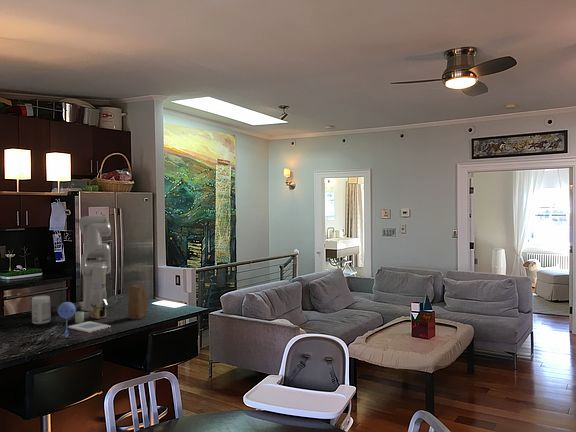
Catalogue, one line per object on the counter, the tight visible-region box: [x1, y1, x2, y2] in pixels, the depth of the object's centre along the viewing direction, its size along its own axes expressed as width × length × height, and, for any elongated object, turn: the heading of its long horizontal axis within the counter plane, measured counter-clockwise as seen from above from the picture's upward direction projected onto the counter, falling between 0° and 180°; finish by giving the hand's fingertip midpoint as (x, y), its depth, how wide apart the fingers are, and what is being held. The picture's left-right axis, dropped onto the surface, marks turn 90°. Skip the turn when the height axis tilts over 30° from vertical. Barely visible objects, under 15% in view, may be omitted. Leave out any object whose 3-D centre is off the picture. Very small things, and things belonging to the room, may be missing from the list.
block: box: [127, 283, 148, 320], centre depth 292 cm, size 11×8×20 cm
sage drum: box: [74, 310, 85, 324], centre depth 280 cm, size 5×5×6 cm
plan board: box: [67, 321, 112, 334], centre depth 269 cm, size 18×14×1 cm
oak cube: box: [90, 306, 107, 320], centre depth 292 cm, size 6×6×6 cm
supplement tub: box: [31, 295, 52, 325], centre depth 279 cm, size 10×10×15 cm
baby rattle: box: [57, 301, 77, 338], centre depth 251 cm, size 9×9×18 cm
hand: (98, 315), depth 292 cm, fingers closed on oak cube, 6 cm apart
